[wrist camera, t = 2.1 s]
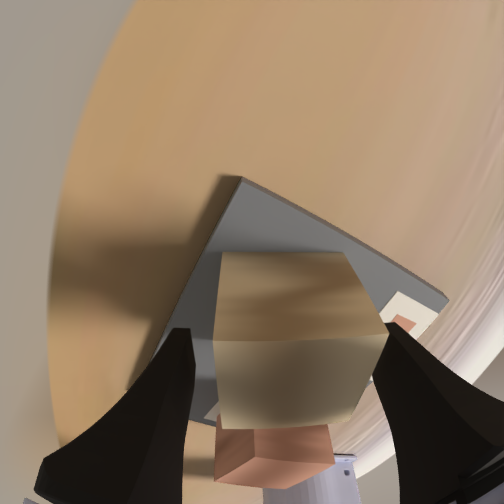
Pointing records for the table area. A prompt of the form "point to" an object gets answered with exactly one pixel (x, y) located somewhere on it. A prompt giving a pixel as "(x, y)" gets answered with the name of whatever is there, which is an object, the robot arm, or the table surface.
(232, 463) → the rust block
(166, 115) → the table surface
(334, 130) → the table surface
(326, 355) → the maple block
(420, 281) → the build board
